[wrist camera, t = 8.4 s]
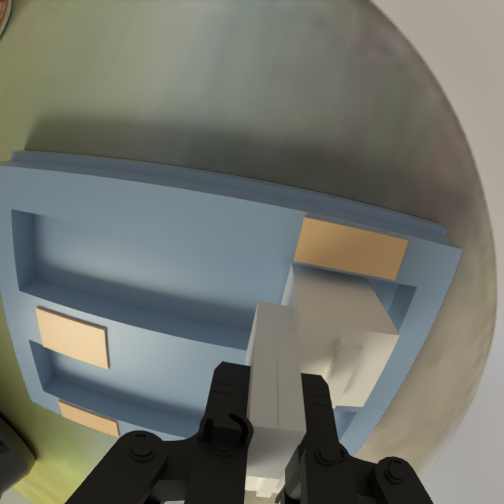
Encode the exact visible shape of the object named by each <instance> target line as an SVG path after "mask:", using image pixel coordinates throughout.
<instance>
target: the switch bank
mask: <svg viewBox="0 0 504 504" xmlns="http://www.w3.org/2000/svg"><path fill="white" fill-rule="evenodd" d="M447 231H448V229H447V228H446V227H444V226H442V225H441V224H439V223H436V222H433V221H430V220H426V219H423V218H419V217H415V216H412V215H408V214H405V213H401V212H397V211H394V210H390V209H386V208H382V207H378V206H374V205H370V204H366V203H362V202H358V201H354V200H350V199H346V198H342V197H337V196H333V195H329V194H324V193H320V192H315V191H311V190H306V189H302V188H297V187H292V186H287V185H282V184H277V183H272V182H267V181H262V180H257V179H252V178H246V177H241V176H235V175H230V174H224V173H218V172H212V171H206V170H200V169H193V168H187V167H180V166H174V165H167V164H159V163H152V162H144V161H137V160H128V159H120V158H111V157H102V156H92V155H81V154H70V153H58V152H44V151H28V150H22V151H16V152H12V158H11V160H10V161H5V162H1V163H0V292H1V297H2V302H3V307H4V312H5V316H6V321H7V325H8V329H9V333H10V337H11V340H12V344H13V348H14V351H15V355H16V358H17V361H18V364H19V368H20V371H21V374H22V377H23V380H24V383H25V385H26V388H27V391H28V394H29V396H30V399H31V402H33V403H35V404H37V405H40V406H42V407H44V408H46V409H48V410H50V411H53V412H55V413H57V414H59V415H62V416H63V417H65V418H67V419H69V420H72V421H74V422H77V423H79V424H82V425H84V426H87V427H90V428H92V429H95V430H98V431H101V432H104V433H106V434H109V435H112V436H115V437H118V438H119V437H121V436H123V435H124V434H125V433H127V432H131V431H134V430H145V431H148V432H151V433H154V434H155V435H157V436H158V437H160V438H161V439H162V440H163V441H173V440H183V439H187V438H189V437H192V436H193V435H195V434H196V433H197V432H198V431H199V425H200V422H201V420H202V418H203V416H204V413H205V409H206V404H207V400H208V395H209V391H210V386H211V382H212V377H213V373H214V369H215V368H216V367H217V366H218V365H219V364H220V363H221V362H222V361H225V362H230V363H236V364H241V365H245V363H246V353H247V348H248V343H249V339H250V335H251V330H252V326H253V321H254V317H255V312H256V308H257V303H258V301H263V302H269V303H274V304H280V305H281V302H282V298H283V294H284V290H285V286H286V282H287V278H288V274H289V270H290V266H291V263H293V264H298V265H303V266H309V267H314V268H319V269H325V270H330V271H335V272H340V273H346V274H351V275H356V276H362V277H366V279H367V280H368V282H369V284H370V285H371V287H372V289H373V290H374V292H375V293H376V295H377V297H378V298H379V300H380V302H381V303H382V305H383V307H384V309H385V310H386V312H387V314H388V315H389V317H390V319H391V321H392V322H393V324H394V326H395V328H396V329H397V331H398V333H399V335H400V336H399V338H398V341H397V343H396V345H395V347H394V349H393V351H392V353H391V355H390V357H389V359H388V361H387V363H386V365H385V367H384V369H383V371H382V373H381V375H380V377H379V379H378V380H377V382H376V384H375V386H374V388H373V390H372V392H371V393H370V395H369V397H368V399H367V400H366V402H365V404H364V406H363V407H355V406H339V405H336V407H335V409H333V412H334V417H335V423H336V428H337V434H338V439H339V442H340V443H341V444H342V445H343V446H344V447H345V448H346V449H347V451H348V453H349V455H351V456H353V457H354V456H355V455H356V453H357V452H358V451H359V449H360V448H361V446H362V445H363V444H364V442H365V441H366V439H367V438H368V437H369V435H370V434H371V432H372V431H373V429H374V428H375V426H376V425H377V423H378V422H379V420H380V419H381V417H382V416H383V414H384V412H385V411H386V409H387V408H388V406H389V405H390V403H391V401H392V400H393V398H394V396H395V395H396V393H397V391H398V390H399V388H400V386H401V385H402V383H403V381H404V379H405V378H406V376H407V374H408V372H409V370H410V369H411V367H412V365H413V363H414V361H415V359H416V357H417V355H418V354H419V352H420V350H421V348H422V346H423V344H424V342H425V340H426V338H427V336H428V334H429V332H430V329H431V327H432V325H433V323H434V321H435V319H436V317H437V314H438V312H439V310H440V308H441V305H442V303H443V301H444V298H445V296H446V294H447V291H448V289H449V286H450V284H451V281H452V279H453V276H454V273H455V271H456V268H457V266H458V263H459V260H460V257H461V254H462V252H463V249H461V248H460V247H458V246H457V245H455V244H454V243H453V242H451V241H450V240H448V239H447V238H445V237H446V234H447Z"/></svg>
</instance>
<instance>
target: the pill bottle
mask: <svg viewBox="0 0 504 504" xmlns="http://www.w3.org/2000/svg"><path fill="white" fill-rule="evenodd" d="M11 6H12V0H0V35H1V34H2V32H3V30H4V28H5V26H6V23H7V21H8V18H9V15H10V11H11Z"/></svg>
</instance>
